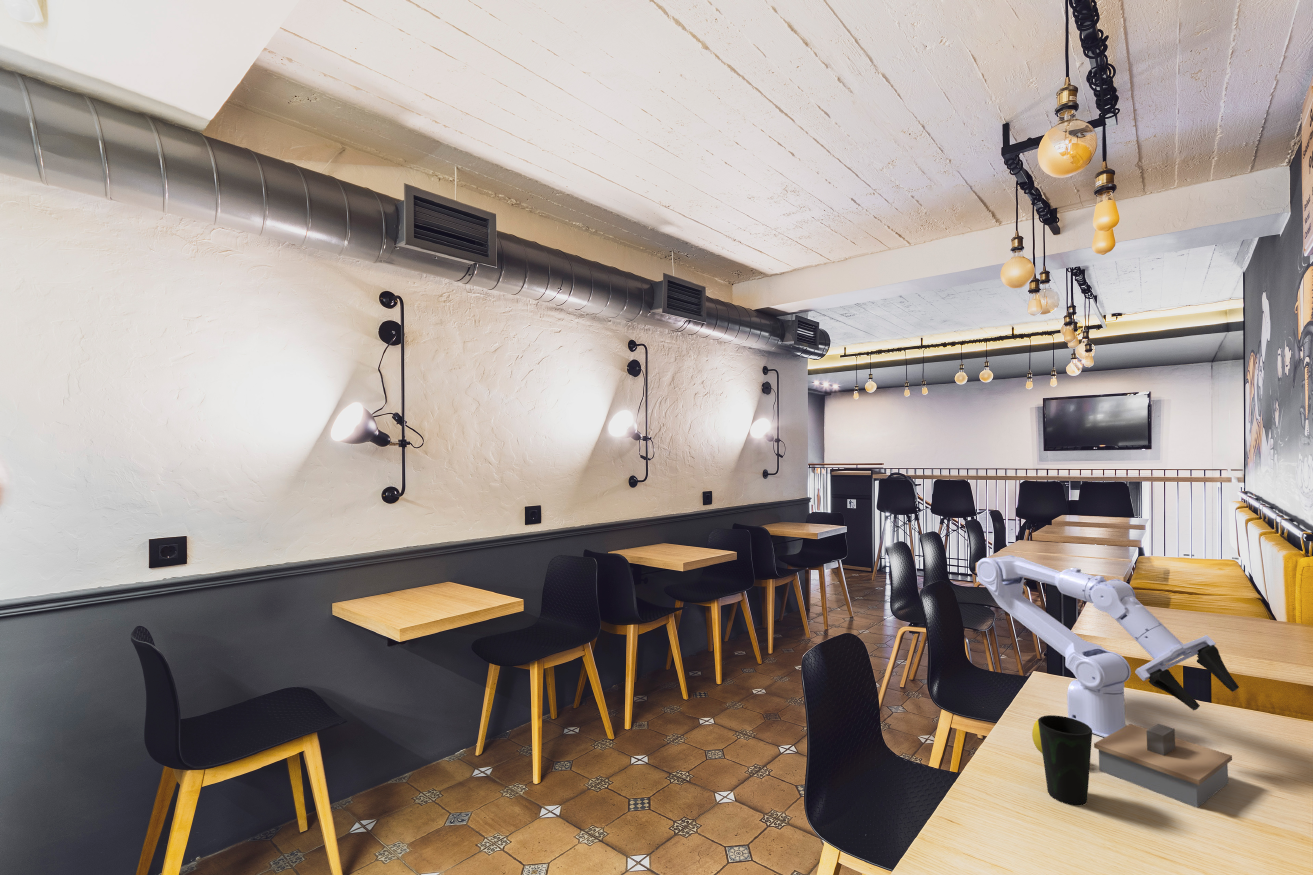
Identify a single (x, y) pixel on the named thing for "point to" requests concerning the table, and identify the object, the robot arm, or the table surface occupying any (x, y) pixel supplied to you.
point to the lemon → (1036, 736)
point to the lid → (1164, 752)
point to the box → (1163, 779)
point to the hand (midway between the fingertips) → (1216, 698)
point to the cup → (1066, 758)
